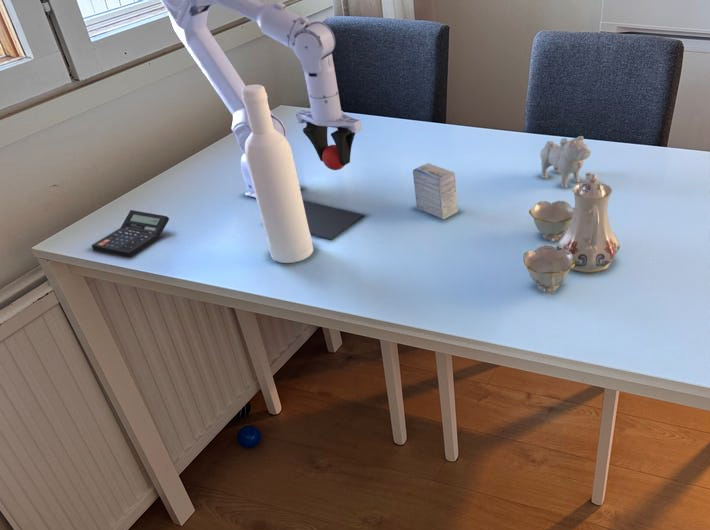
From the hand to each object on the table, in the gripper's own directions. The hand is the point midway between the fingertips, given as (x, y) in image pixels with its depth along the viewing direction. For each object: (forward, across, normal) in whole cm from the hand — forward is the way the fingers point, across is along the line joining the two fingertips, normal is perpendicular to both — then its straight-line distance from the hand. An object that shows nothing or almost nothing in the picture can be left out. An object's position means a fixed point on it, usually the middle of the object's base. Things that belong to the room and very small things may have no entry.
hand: (335, 161), depth 137 cm
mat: (+8, -1, +10) cm, 13 cm away
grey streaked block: (+8, -22, -3) cm, 24 cm away
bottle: (+8, -6, +23) cm, 25 cm away
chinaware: (+8, -54, +4) cm, 54 cm away
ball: (+2, 0, 0) cm, 2 cm away
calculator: (+8, +28, +31) cm, 43 cm away
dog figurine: (+8, -40, -27) cm, 49 cm away
